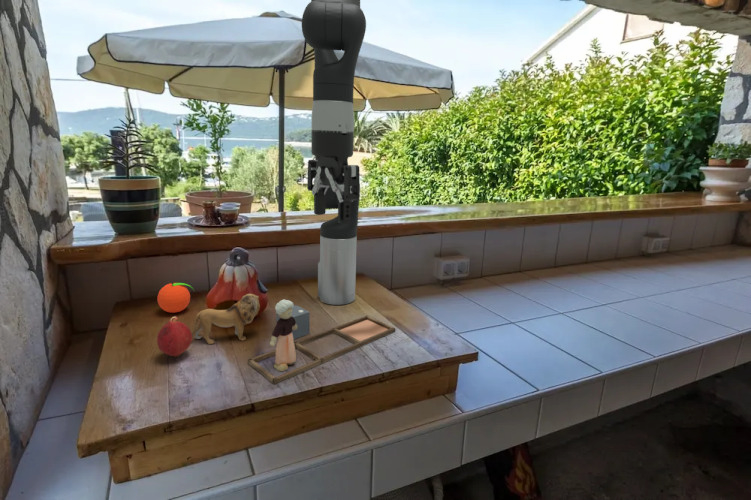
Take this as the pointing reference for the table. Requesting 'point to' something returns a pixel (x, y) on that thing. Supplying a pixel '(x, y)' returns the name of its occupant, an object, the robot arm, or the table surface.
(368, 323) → the board
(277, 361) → the grandmother figurine
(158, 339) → the red oval fruit
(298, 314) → the die
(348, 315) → the table surface
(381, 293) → the table surface
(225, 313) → the lion figurine
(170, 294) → the clementine
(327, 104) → the robot arm
